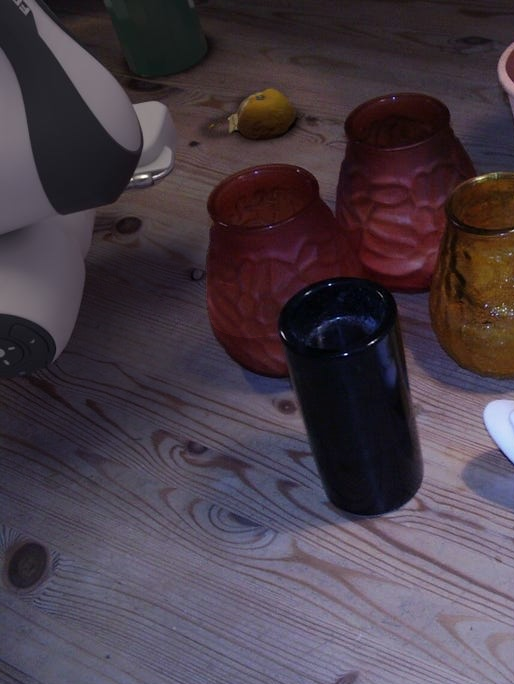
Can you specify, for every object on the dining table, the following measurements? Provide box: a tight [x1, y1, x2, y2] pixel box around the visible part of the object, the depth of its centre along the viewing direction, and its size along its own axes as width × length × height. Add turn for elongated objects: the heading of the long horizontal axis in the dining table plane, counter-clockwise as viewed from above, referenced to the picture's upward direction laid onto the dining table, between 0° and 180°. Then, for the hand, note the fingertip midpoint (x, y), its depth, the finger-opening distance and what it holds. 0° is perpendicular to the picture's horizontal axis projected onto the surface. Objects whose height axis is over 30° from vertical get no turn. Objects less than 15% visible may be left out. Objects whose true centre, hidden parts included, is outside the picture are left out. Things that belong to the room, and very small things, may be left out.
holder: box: [102, 0, 209, 78], centre depth 108 cm, size 9×9×10 cm
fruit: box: [207, 87, 297, 141], centre depth 99 cm, size 8×8×4 cm
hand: (55, 107), depth 83 cm, fingers closed on shaker, 4 cm apart
